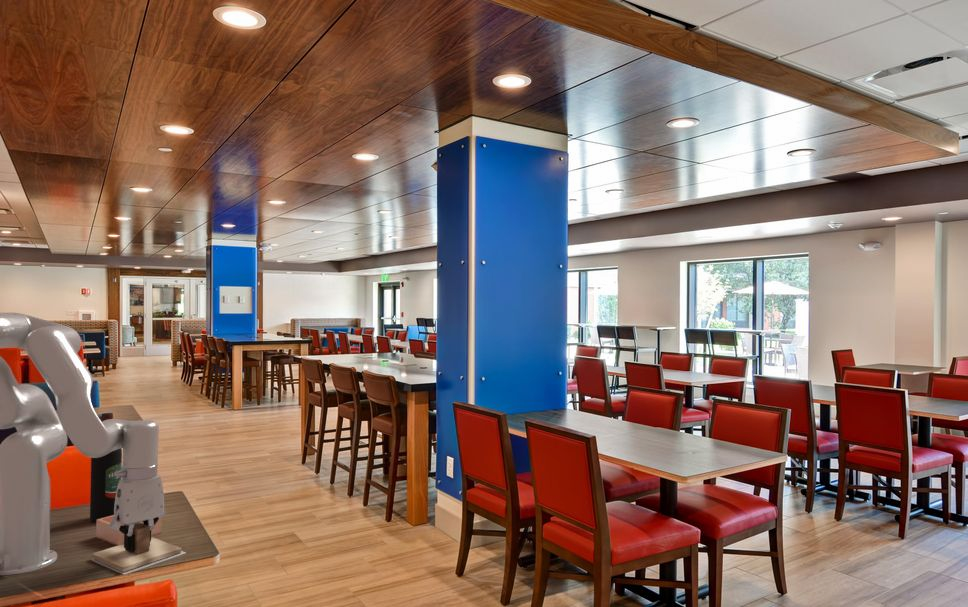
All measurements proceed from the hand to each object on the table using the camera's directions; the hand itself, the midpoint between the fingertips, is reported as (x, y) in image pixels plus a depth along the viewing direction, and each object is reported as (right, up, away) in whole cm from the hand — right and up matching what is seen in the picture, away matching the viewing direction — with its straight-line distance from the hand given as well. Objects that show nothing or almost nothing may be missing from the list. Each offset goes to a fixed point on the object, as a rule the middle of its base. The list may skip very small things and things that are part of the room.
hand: (137, 547), depth 150 cm
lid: (0, -2, 0) cm, 2 cm away
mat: (0, -3, 0) cm, 3 cm away
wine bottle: (-25, -3, +28) cm, 37 cm away
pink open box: (-10, -3, +14) cm, 17 cm away
